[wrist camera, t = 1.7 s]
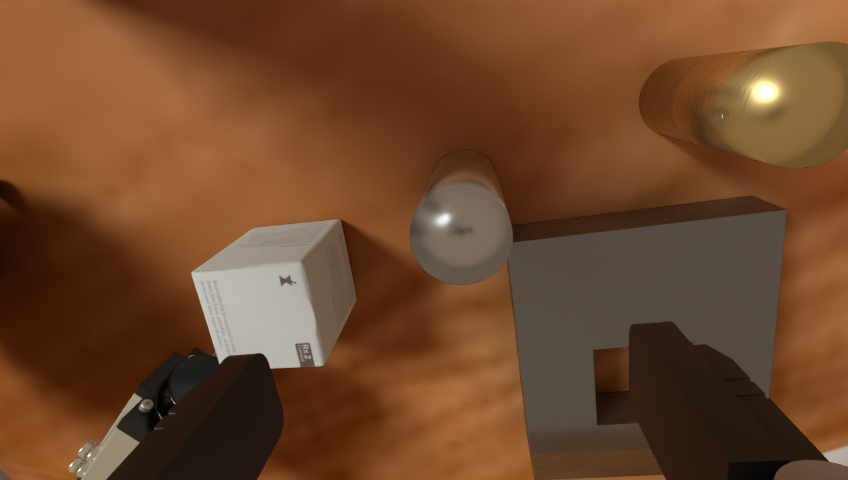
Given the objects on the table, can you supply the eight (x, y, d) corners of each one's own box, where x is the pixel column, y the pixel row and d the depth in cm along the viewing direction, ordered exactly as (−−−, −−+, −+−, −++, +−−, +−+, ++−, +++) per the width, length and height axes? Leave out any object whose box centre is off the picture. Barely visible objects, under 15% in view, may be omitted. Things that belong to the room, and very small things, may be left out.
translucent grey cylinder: (425, 155, 26) (401, 195, 17) (493, 144, 26) (507, 180, 17) (436, 219, 28) (418, 289, 18) (501, 211, 27) (517, 279, 18)
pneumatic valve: (300, 335, 32) (205, 475, 20) (222, 432, 35) (105, 596, 24) (234, 288, 31) (97, 407, 20) (161, 392, 35) (11, 543, 23)
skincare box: (253, 226, 29) (185, 270, 22) (343, 217, 28) (301, 260, 21) (274, 309, 31) (218, 373, 24) (359, 303, 30) (326, 368, 23)
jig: (503, 226, 27) (509, 256, 23) (751, 195, 25) (815, 221, 21) (526, 435, 32) (536, 495, 28) (736, 423, 30) (784, 485, 26)
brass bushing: (638, 65, 24) (748, 54, 14) (720, 51, 23) (889, 30, 14) (639, 140, 25) (741, 176, 16) (716, 129, 24) (869, 159, 15)
